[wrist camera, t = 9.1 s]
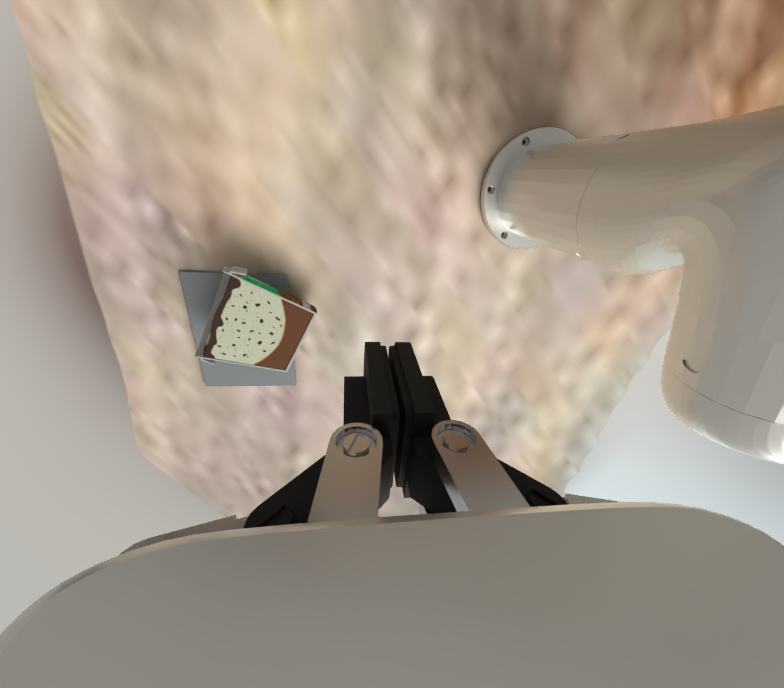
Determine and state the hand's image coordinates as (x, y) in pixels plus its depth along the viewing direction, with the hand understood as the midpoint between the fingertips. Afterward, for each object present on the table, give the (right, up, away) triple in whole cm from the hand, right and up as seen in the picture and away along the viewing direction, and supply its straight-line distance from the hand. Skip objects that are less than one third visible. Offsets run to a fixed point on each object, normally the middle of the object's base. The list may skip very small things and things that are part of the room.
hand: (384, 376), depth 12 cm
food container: (-11, +3, +28) cm, 30 cm away
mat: (-19, +3, +29) cm, 35 cm away
